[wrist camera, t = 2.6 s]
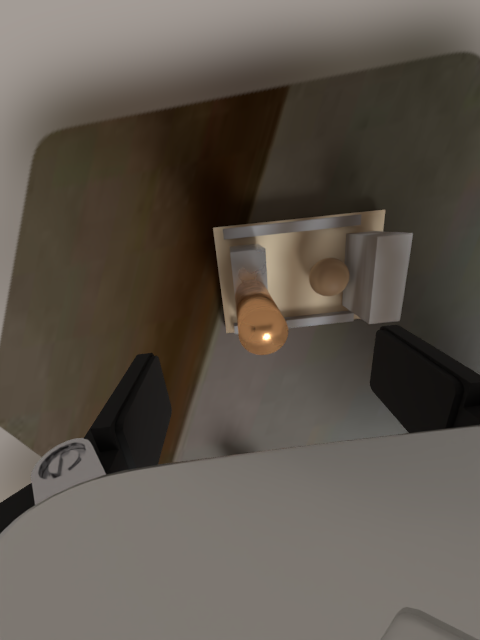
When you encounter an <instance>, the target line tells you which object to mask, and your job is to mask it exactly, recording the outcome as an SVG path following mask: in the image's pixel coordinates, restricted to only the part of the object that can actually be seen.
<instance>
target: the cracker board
mask: <svg viewBox="0 0 480 640" xmlns="http://www.w3.org/2000/svg"><path fill="white" fill-rule="evenodd" d="M384 219H385V210H375V211H366V212H356V213H347V214H337V215H328V216H319V217H309V218H300V219H290V220H281V221H271V222H262V223H253V224H243V225H234V226H224V227H215V228H213V232H214V240H215V247H216V255H217V263H218V270H219V278H220V286H221V293H222V301H223V309H224V316H225V324H226V332H227V333H231V332H235V334H238V324H237V313H236V303H235V293H234V284H233V275H232V266H231V257H230V247H231V246H240V245H249V244H259V245H261V246H262V247H264V248H265V249H266V266H267V284H268V292H269V293H270V295H271V297H272V299H273V300H274V302H275V304H276V305H277V307H278V309H279V310H280V312H281V314H282V316H283V317H284V319H285V321H286V323H287V325H288V328H295V327H304V326H314V325H323V324H332V323H341V322H350V321H353V320H354V319H360V318H361V319H362V320H364V321H365V322H367V323H368V324H376V323H385V322H394V321H400V317H401V310H402V304H403V297H404V290H405V284H406V277H407V270H408V264H409V257H410V251H411V244H412V237H413V233H402V232H384V231H383V228H384ZM325 258H336V259H339V260H341V261H342V262H343V263H344V264H345V265H346V266H347V268H348V270H349V282H348V284H347V286H346V288H345V289H344V290H343V291H342V292H340V293H339V294H337V295H334V296H322V295H319V294H318V293H316V292H315V291H314V290H313V289H312V287H311V285H310V283H309V274H310V271H311V269H312V267H313V266H314V265H315V264H316V263H317V262H318V261H320V260H322V259H325Z"/></svg>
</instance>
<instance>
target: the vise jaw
mask: <svg viewBox="0 0 480 640" xmlns="http://www.w3.org/2000/svg"><path fill="white" fill-rule="evenodd" d="M230 257H231V266H232V275H233V284H234V293H235V303H236V313H237V324H238V334H239V339H240V342H241V344H242V345H243V347H244V348H245V349H246V350H248V351H249V352H251V353H254V354H258V355H266V354H270V353H273V352H275V351H277V350H278V349H280V348H281V347H282V346H283V344H284V343H285V341H286V339H287V336H288V325H287V323H286V321H285V319H284V317H283V316H282V314H281V312H280V310H279V309H278V307H277V305H276V304H275V302H274V300H273V299H272V297H271V295H270V293H269V292H268V284H267V266H266V249H265V248H264V247H262V246H261V245H259V244H249V245H240V246H231V247H230Z"/></svg>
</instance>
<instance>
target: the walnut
mask: <svg viewBox="0 0 480 640" xmlns="http://www.w3.org/2000/svg"><path fill="white" fill-rule="evenodd" d="M348 282H349V270H348V268H347V266H346V265H345V264H344V263H343V262H342V261H341V260H339V259H336V258H325V259H322V260H320V261H318V262H317V263H316V264H315V265H314V266H313V267H312V269H311V271H310V274H309V283H310V285H311V287H312V289H313V290H314V291H315V292H316V293H318V294H319V295H322V296H334V295H337V294H339V293H340V292H342V291H343V290H344V289H345V288H346V286H347V284H348Z"/></svg>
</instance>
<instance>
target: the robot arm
mask: <svg viewBox="0 0 480 640" xmlns="http://www.w3.org/2000/svg"><path fill="white" fill-rule="evenodd" d="M370 386H371V389H372V391H373V392H374V393H375V394H376V395H377V396H378V398H379V399H380V400H381V401H382V402H383V403H384V405H385V406H386V407H387V408H388V409H389V410H390V411H391V413H392V414H393V415H394V416H395V417H396V418H397V420H398V421H399V422H400V423H401V424H402V425H403V426H404V428H405V429H406V430H407V431H408V432H409V433H406V434H398V435H389V436H381V437H372V438H364V439H356V440H347V441H339V442H331V443H323V444H315V445H307V446H299V447H291V448H283V449H275V450H267V451H259V452H252V453H244V454H236V455H229V456H221V457H213V458H205V459H198V460H190V461H182V462H175V463H167V464H160V465H158V462H159V458H160V454H161V451H162V447H163V443H164V439H165V436H166V432H167V428H168V425H169V421H170V417H171V404H170V400H169V396H168V393H167V389H166V385H165V381H164V377H163V373H162V369H161V365H160V362H159V358H158V356H154V355H153V354H152V353H148V354H139V355H137V356H136V358H135V359H134V361H133V362H132V364H131V365H130V367H129V369H128V370H127V372H126V373H125V375H124V376H123V378H122V380H121V381H120V383H119V384H118V386H117V387H116V389H115V390H114V392H113V394H112V395H111V397H110V398H109V400H108V401H107V403H106V404H105V406H104V408H103V409H102V411H101V412H100V414H99V415H98V417H97V419H96V420H95V422H94V423H93V425H92V426H91V428H90V429H89V431H88V433H87V434H86V436H85V437H84V439H83V438H78V439H72V440H69V441H66V442H64V443H62V444H59V445H58V446H56V447H54V448H53V449H51V450H50V451H49V452H47V453H46V454H45V455H44V456H43V457H42V458H41V459H40V460H39V461H38V462H37V463H36V465H35V467H34V469H33V470H32V474H31V481H32V483H31V484H29V485H27V486H26V487H24V488H23V489H21V490H20V491H18V492H17V493H15V494H13V495H12V496H10V497H9V498H7V499H6V500H4V501H3V502H1V503H0V640H480V375H479V374H477V373H476V372H474V371H473V370H471V369H469V368H468V367H466V366H464V365H463V364H461V363H459V362H458V361H456V360H454V359H453V358H451V357H450V356H448V355H446V354H445V353H443V352H441V351H440V350H438V349H436V348H435V347H433V346H431V345H430V344H428V343H426V342H425V341H423V340H422V339H420V338H418V337H417V336H415V335H413V334H412V333H410V332H408V331H407V330H405V329H403V328H402V327H400V326H398V325H390V326H382V327H381V328H380V330H378V331H377V332H376V338H375V346H374V354H373V362H372V370H371V379H370Z"/></svg>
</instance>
